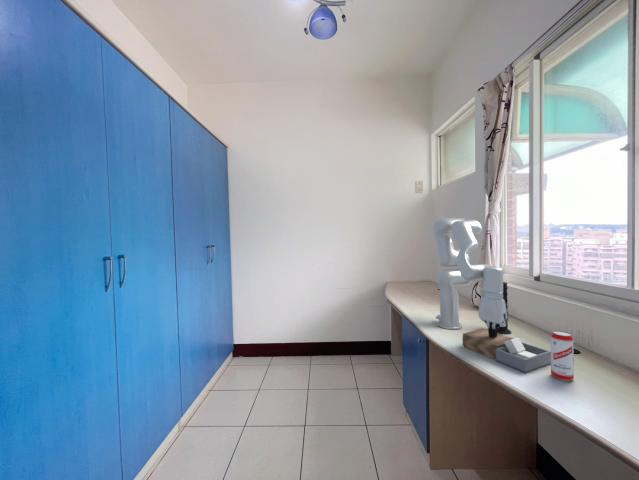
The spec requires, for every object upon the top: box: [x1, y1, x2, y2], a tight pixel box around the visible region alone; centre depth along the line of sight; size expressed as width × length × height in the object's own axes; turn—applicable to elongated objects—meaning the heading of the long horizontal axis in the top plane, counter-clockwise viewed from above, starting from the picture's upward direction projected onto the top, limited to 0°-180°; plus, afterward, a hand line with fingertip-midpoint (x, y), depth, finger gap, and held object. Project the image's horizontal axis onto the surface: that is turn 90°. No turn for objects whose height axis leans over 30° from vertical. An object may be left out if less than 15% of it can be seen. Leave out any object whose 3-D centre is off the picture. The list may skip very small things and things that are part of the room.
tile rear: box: [504, 337, 526, 354], centre depth 117 cm, size 5×5×4 cm
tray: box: [495, 341, 551, 374], centre depth 114 cm, size 11×16×5 cm
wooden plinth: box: [462, 328, 515, 361], centre depth 126 cm, size 16×14×6 cm
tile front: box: [516, 351, 536, 359], centre depth 112 cm, size 5×5×4 cm
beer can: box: [550, 330, 575, 382], centre depth 102 cm, size 6×6×16 cm
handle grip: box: [497, 281, 512, 335], centre depth 149 cm, size 10×26×10 cm
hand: (492, 336), depth 125 cm, fingers closed
